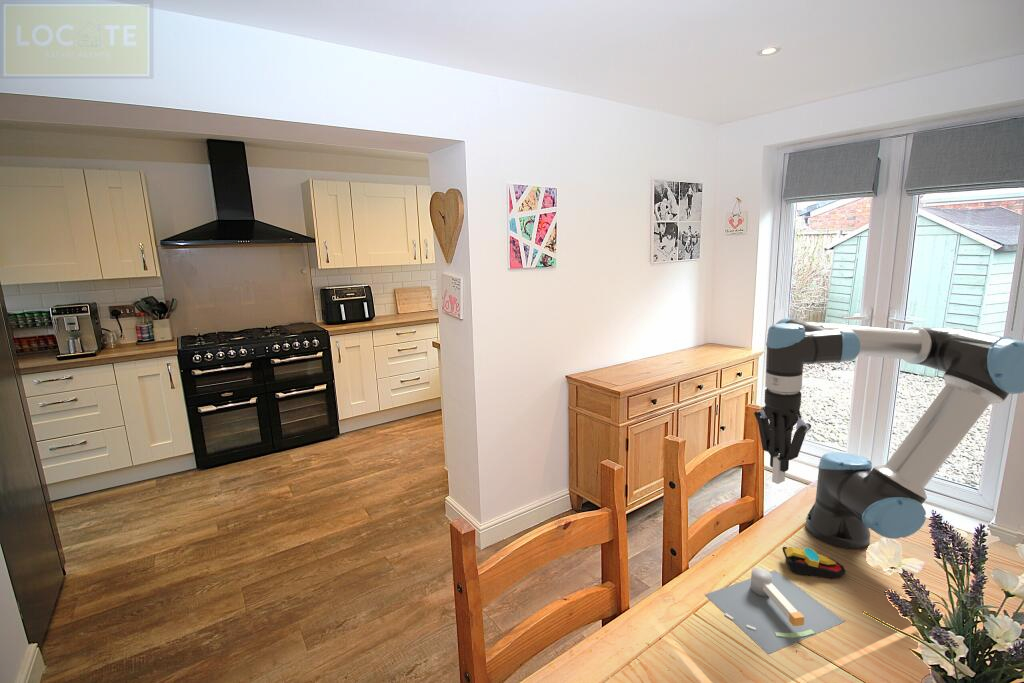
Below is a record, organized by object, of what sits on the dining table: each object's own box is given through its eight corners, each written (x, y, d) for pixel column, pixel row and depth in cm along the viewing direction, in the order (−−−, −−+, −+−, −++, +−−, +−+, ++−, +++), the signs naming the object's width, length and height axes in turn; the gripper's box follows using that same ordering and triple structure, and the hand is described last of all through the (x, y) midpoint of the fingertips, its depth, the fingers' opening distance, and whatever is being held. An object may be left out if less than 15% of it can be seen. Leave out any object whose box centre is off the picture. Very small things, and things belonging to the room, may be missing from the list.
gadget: (844, 591, 117) (851, 572, 116) (784, 574, 121) (790, 555, 119) (835, 573, 123) (842, 555, 122) (778, 558, 127) (784, 540, 125)
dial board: (774, 574, 122) (775, 569, 122) (844, 626, 106) (845, 620, 105) (703, 599, 115) (703, 594, 114) (766, 659, 98) (766, 653, 98)
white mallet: (746, 583, 117) (747, 569, 116) (763, 581, 117) (764, 567, 117) (788, 633, 102) (790, 616, 102) (807, 630, 103) (809, 614, 102)
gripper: (747, 386, 118) (744, 475, 123) (800, 400, 107) (795, 497, 112) (767, 380, 121) (763, 466, 126) (820, 393, 110) (814, 487, 115)
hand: (778, 481), depth 119 cm, fingers closed
